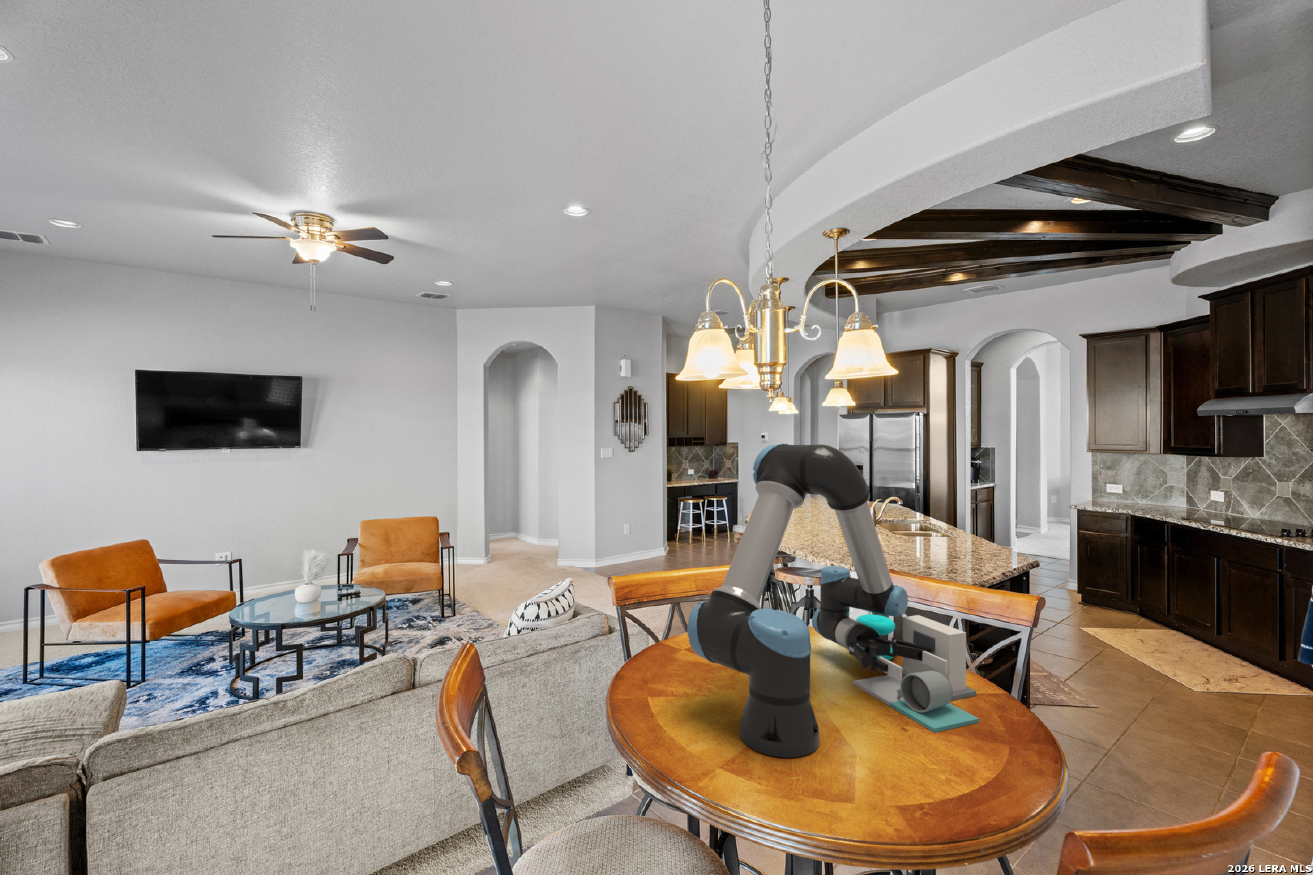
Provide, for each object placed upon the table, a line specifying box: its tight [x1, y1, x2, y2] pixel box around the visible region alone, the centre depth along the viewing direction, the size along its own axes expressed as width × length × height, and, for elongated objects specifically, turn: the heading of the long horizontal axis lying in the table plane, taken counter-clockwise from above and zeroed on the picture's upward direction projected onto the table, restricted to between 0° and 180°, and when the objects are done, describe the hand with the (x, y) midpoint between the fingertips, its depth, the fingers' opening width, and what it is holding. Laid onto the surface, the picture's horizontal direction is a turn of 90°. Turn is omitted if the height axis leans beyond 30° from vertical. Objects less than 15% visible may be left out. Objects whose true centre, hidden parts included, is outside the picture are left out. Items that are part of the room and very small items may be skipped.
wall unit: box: [901, 614, 977, 702], centre depth 137 cm, size 8×17×14 cm, turn 21°
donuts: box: [855, 614, 896, 661], centre depth 155 cm, size 10×10×10 cm
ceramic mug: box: [897, 671, 953, 713], centre depth 124 cm, size 11×8×8 cm
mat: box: [852, 674, 980, 733], centre depth 127 cm, size 12×24×1 cm, turn 21°
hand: (924, 670), depth 123 cm, fingers open, 12 cm apart
